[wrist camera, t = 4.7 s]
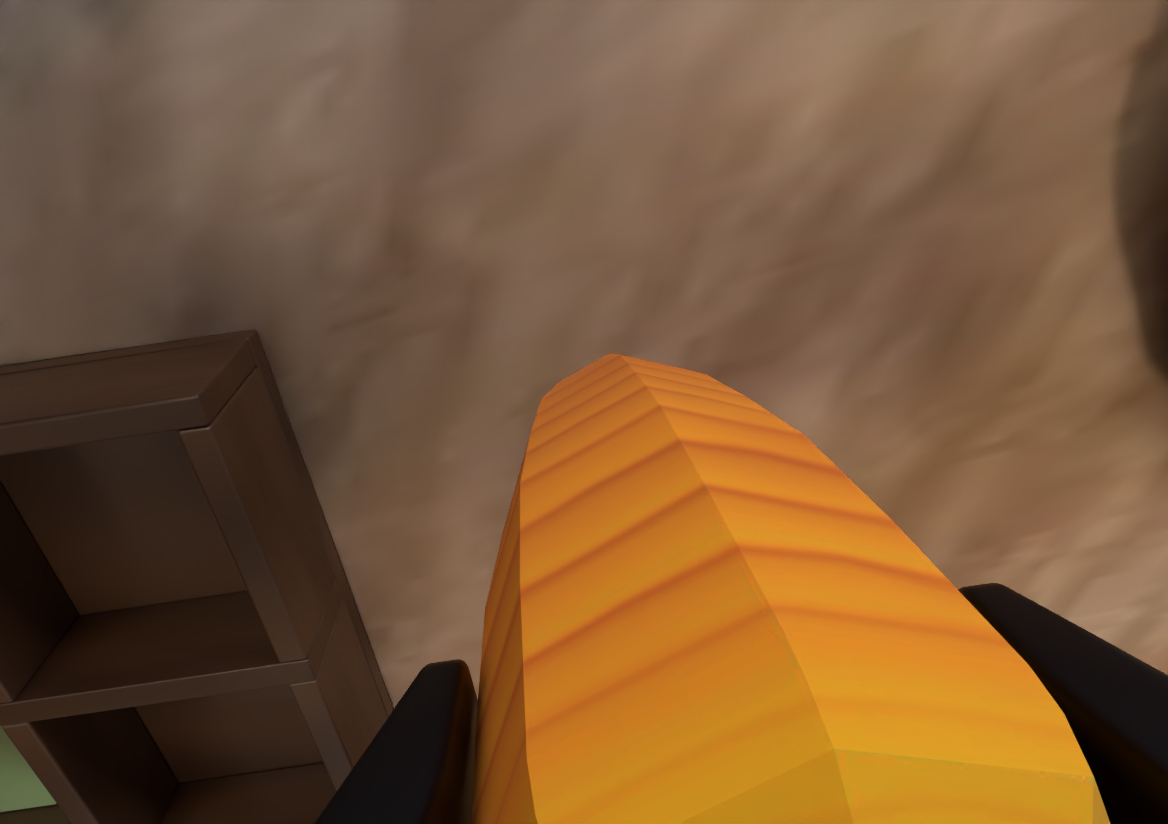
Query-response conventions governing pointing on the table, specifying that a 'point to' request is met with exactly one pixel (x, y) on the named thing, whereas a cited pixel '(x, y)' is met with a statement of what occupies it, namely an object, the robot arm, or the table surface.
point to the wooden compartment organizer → (170, 597)
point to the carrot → (738, 636)
